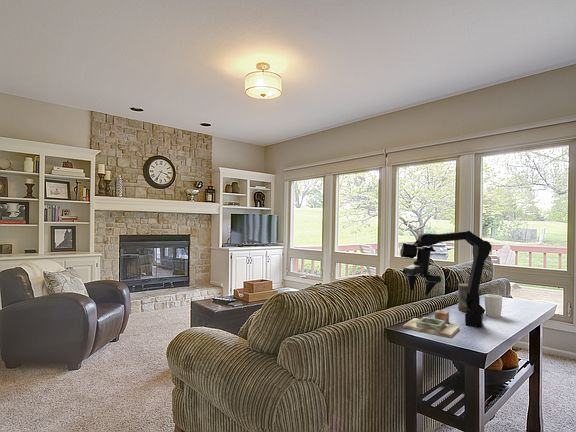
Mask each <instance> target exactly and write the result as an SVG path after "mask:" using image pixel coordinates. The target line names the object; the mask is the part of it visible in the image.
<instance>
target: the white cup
mask: <svg viewBox="0 0 576 432" xmlns="http://www.w3.org/2000/svg"><path fill="white" fill-rule="evenodd" d="M484 309H485V316H487V317H490V318H500V317H502V309H503V296H502V295H499V294H492V293H486V294H484Z"/></svg>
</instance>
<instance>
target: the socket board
mask: <svg viewBox="0 0 576 432" xmlns="http://www.w3.org/2000/svg"><path fill="white" fill-rule="evenodd" d="M402 326H403V329H407V330H408V329H409V330H413V331H418V332H423V333H426V334H432V335H436V336H441V337H447V338H450V337H451V338H453V336H455V334H456V333H457V332H458V331H459V330H460V326H458V325H453V324H448V323H447V324H446V321H444V320H438V319H435V318H432V317H427V316H423V317H421V318H417V317H416V318H415V317H414V318H412V319H410V320H409V321H408V322H406V323H405V324H403V325H402Z"/></svg>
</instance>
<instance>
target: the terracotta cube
mask: <svg viewBox="0 0 576 432" xmlns="http://www.w3.org/2000/svg"><path fill="white" fill-rule="evenodd" d="M434 319H438V320H444V321H446V324H448V323H449V322H450V311H447V310H441V309H437V310H435V311H434Z"/></svg>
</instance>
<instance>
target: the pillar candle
mask: <svg viewBox="0 0 576 432" xmlns="http://www.w3.org/2000/svg"><path fill="white" fill-rule="evenodd" d="M467 287H468V283H458V293H457V294H458V302H457V303H458V311H461V312H463V313H464V312H465V313H466V312H467V309H466V308H465V306H464V305H463V304H462V302H461V299H460V297H461V294H462V290H463V291H465V290H466V289H467Z"/></svg>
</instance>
